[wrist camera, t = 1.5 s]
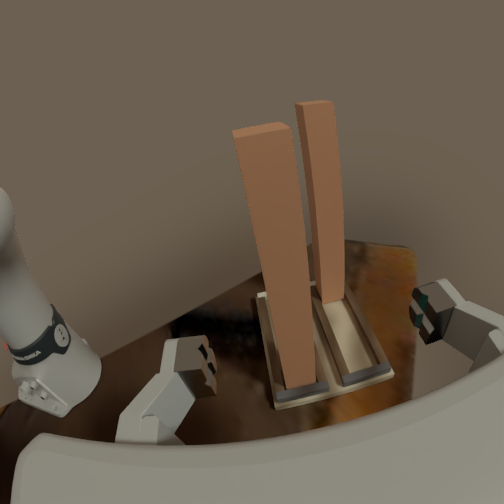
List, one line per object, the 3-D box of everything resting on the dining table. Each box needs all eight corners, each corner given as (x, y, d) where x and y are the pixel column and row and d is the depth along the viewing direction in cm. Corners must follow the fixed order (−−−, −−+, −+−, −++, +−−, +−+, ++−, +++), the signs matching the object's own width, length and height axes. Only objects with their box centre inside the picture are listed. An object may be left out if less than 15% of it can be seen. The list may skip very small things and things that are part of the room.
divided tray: (275, 410, 35) (273, 403, 34) (256, 301, 55) (254, 292, 53) (393, 377, 35) (395, 369, 34) (343, 280, 54) (343, 271, 53)
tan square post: (322, 304, 49) (302, 105, 32) (316, 289, 52) (294, 103, 35) (344, 298, 49) (333, 101, 32) (336, 284, 52) (322, 100, 35)
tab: (287, 391, 36) (233, 138, 19) (282, 368, 40) (231, 130, 22) (315, 384, 36) (290, 128, 19) (309, 362, 39) (279, 121, 22)
